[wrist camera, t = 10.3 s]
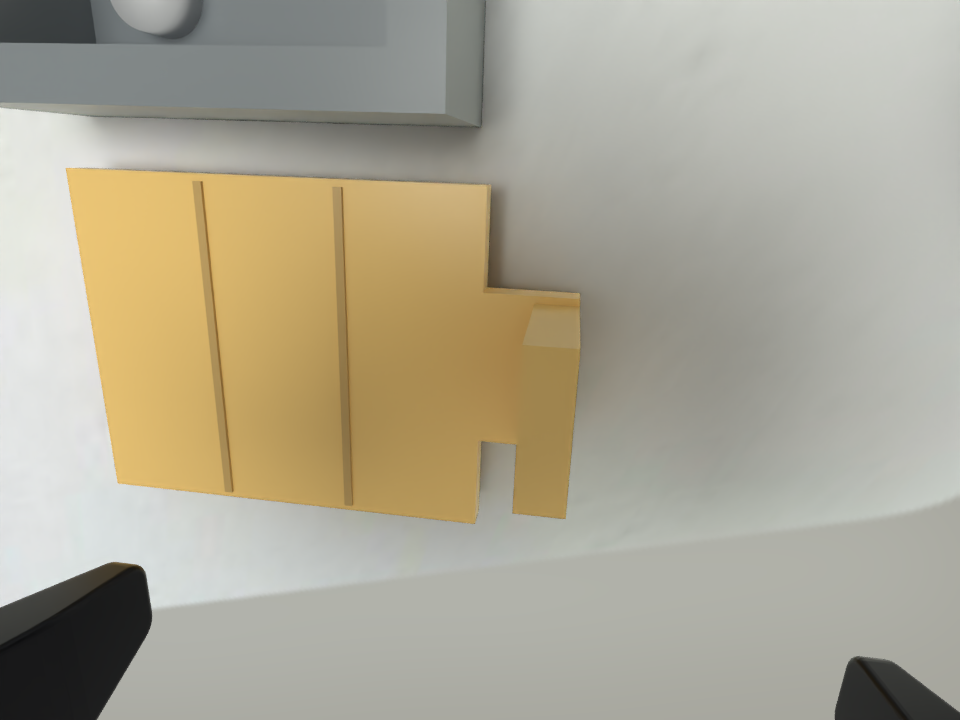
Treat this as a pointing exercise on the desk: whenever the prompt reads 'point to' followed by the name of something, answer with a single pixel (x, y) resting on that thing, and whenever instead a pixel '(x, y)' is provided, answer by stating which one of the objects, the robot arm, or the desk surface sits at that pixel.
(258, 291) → the snap lid
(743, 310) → the desk surface
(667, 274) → the desk surface
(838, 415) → the desk surface
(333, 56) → the parts tub
